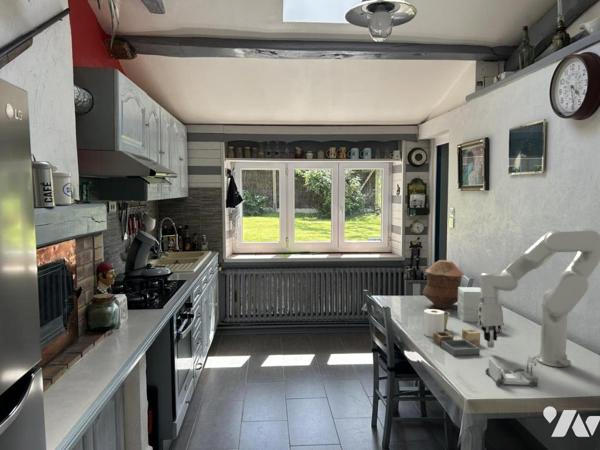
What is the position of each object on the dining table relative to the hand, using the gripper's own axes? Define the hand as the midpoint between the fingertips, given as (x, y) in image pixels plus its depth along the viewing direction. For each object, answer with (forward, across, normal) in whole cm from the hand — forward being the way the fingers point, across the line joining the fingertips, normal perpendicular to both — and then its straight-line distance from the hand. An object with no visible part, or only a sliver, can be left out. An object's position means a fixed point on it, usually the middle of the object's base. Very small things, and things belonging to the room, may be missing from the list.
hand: (490, 339), depth 200 cm
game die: (+7, +21, +30) cm, 37 cm away
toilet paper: (+5, -13, +30) cm, 33 cm away
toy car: (+7, -8, -28) cm, 30 cm away
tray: (+6, -12, +5) cm, 15 cm away
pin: (+3, 0, 0) cm, 3 cm away
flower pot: (+5, -5, +39) cm, 40 cm away
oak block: (+6, -1, +15) cm, 16 cm away
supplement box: (+6, +22, +54) cm, 58 cm away
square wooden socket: (+5, -15, +16) cm, 23 cm away
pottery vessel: (+5, +19, +83) cm, 85 cm away
